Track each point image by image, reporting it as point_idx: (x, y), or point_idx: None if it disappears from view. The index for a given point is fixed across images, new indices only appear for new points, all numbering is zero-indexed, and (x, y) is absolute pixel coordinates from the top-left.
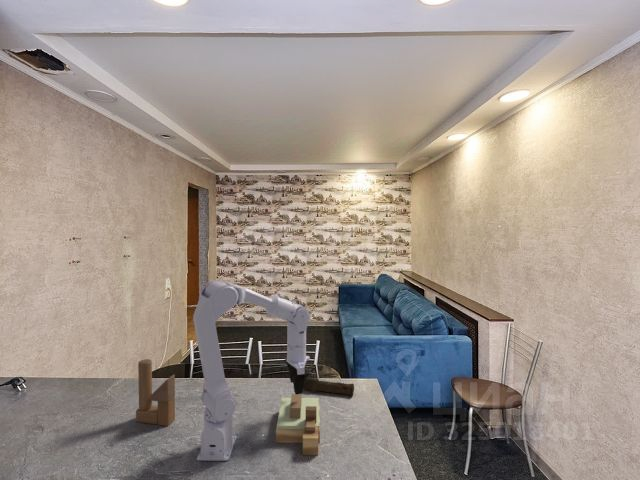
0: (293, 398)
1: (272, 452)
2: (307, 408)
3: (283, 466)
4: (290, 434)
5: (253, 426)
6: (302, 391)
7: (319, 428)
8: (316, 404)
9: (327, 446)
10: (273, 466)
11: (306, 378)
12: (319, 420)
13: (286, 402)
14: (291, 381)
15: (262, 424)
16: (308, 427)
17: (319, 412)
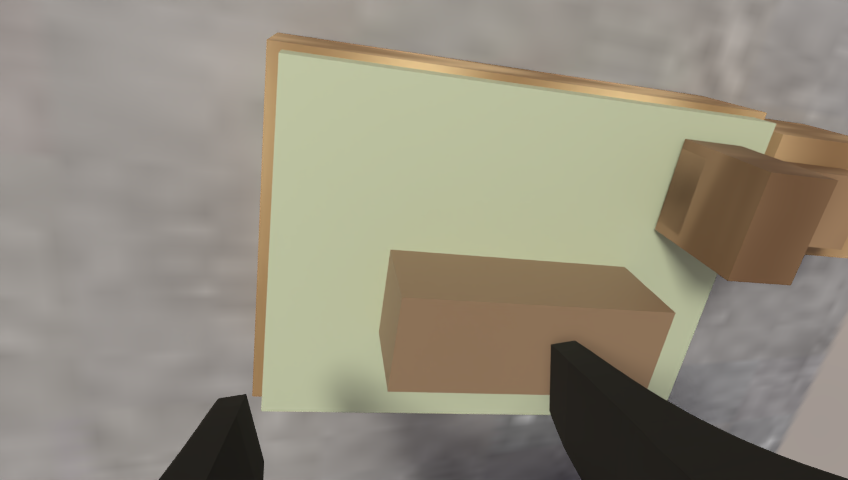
0: (483, 374)
1: (685, 363)
2: (770, 266)
3: (802, 309)
4: None
5: (435, 472)
6: (594, 354)
7: (742, 112)
8: (427, 100)
9: (753, 46)
10: (782, 352)
11: (798, 463)
12: (639, 96)
13: (355, 373)
14: (262, 470)
15: (422, 433)
16: (845, 231)
17: (513, 75)
